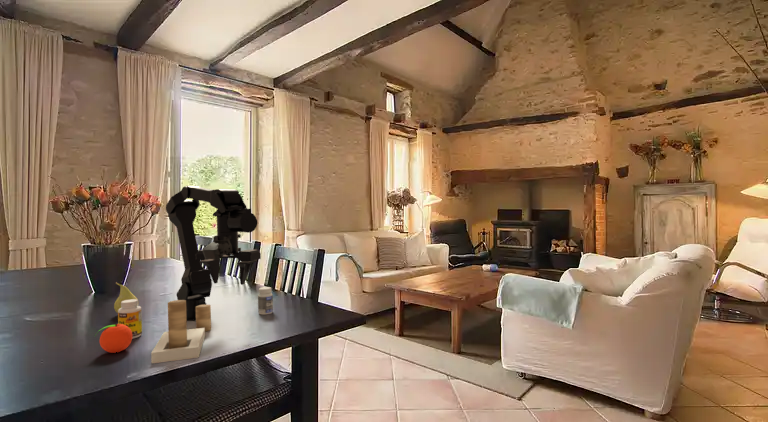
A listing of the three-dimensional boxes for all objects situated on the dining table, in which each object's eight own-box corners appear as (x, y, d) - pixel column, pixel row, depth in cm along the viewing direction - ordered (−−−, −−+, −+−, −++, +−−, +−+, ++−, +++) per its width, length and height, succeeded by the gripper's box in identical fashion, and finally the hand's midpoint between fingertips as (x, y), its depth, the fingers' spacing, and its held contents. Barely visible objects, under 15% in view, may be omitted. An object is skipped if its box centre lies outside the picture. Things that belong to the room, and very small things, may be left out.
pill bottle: (268, 315, 131) (268, 289, 131) (255, 314, 132) (255, 289, 132) (275, 311, 136) (274, 286, 136) (262, 310, 137) (262, 286, 137)
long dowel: (166, 354, 98) (164, 302, 98) (183, 350, 101) (181, 299, 101) (173, 358, 96) (171, 304, 95) (190, 353, 99) (188, 301, 98)
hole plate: (164, 341, 108) (164, 331, 108) (204, 336, 111) (204, 327, 111) (151, 363, 93) (151, 352, 93) (198, 357, 96) (198, 347, 96)
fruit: (143, 312, 137) (141, 277, 137) (126, 318, 130) (125, 282, 130) (124, 312, 138) (123, 277, 138) (107, 318, 130) (106, 281, 130)
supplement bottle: (115, 341, 108) (113, 303, 108) (123, 334, 114) (122, 299, 114) (137, 339, 110) (136, 302, 109) (145, 333, 115) (144, 297, 115)
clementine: (91, 359, 96) (90, 330, 96) (98, 350, 102) (97, 322, 102) (130, 354, 99) (129, 325, 99) (135, 345, 105) (134, 318, 105)
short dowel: (193, 331, 116) (192, 307, 116) (202, 327, 120) (202, 304, 119) (204, 332, 115) (204, 308, 114) (214, 328, 118) (213, 304, 118)
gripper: (181, 233, 113) (182, 288, 114) (237, 234, 108) (239, 291, 109) (208, 230, 124) (209, 280, 124) (261, 230, 119) (262, 283, 119)
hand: (228, 283), depth 119 cm, fingers open, 9 cm apart
